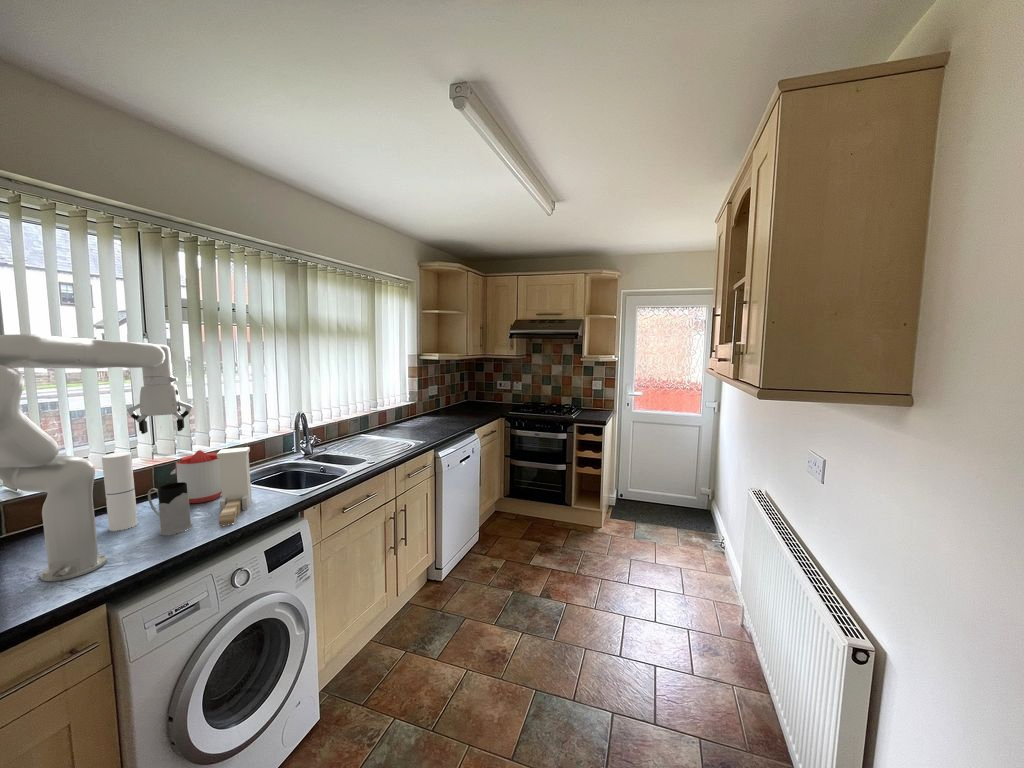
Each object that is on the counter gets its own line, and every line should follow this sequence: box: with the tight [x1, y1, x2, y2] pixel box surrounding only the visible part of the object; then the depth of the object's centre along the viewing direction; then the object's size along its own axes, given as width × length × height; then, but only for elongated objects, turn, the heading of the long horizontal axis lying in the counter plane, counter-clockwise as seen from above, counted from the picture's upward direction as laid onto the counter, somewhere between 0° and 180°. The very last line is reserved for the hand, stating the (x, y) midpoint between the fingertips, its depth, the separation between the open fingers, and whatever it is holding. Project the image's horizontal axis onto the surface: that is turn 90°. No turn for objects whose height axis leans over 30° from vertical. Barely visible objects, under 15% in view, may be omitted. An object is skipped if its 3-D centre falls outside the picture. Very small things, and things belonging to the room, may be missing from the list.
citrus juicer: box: [170, 450, 222, 504], centre depth 166 cm, size 16×17×20 cm
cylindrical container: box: [101, 451, 138, 532], centre depth 140 cm, size 7×7×25 cm
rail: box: [218, 499, 243, 527], centre depth 149 cm, size 17×4×4 cm, turn 24°
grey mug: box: [147, 482, 194, 536], centre depth 139 cm, size 9×14×15 cm, turn 80°
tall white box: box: [216, 446, 253, 514], centre depth 157 cm, size 10×9×22 cm
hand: (162, 431), depth 141 cm, fingers open, 9 cm apart
